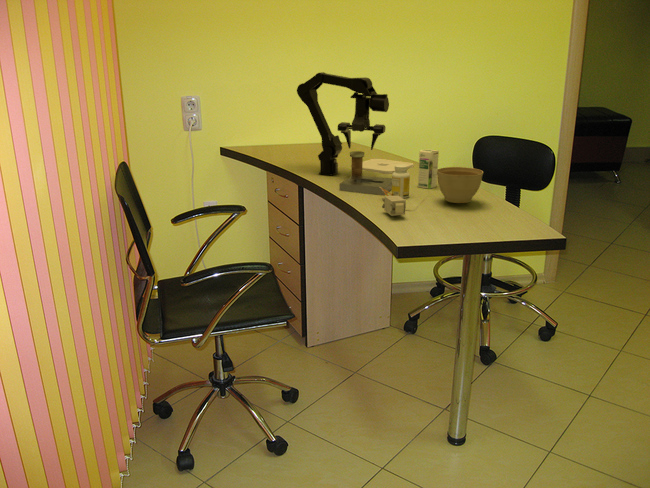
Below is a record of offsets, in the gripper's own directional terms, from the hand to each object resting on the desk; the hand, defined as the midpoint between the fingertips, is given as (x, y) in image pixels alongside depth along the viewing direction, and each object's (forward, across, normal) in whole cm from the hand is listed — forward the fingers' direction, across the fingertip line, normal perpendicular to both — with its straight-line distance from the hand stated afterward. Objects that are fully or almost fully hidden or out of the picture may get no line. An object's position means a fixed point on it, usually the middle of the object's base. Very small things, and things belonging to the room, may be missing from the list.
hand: (360, 149), depth 250 cm
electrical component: (+12, +18, -39) cm, 45 cm away
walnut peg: (+13, -1, 0) cm, 13 cm away
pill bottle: (+12, +21, -24) cm, 34 cm away
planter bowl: (+12, +42, -24) cm, 49 cm away
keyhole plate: (+13, +6, -14) cm, 20 cm away
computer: (+14, +5, +23) cm, 28 cm away
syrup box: (+12, +29, -5) cm, 32 cm away
